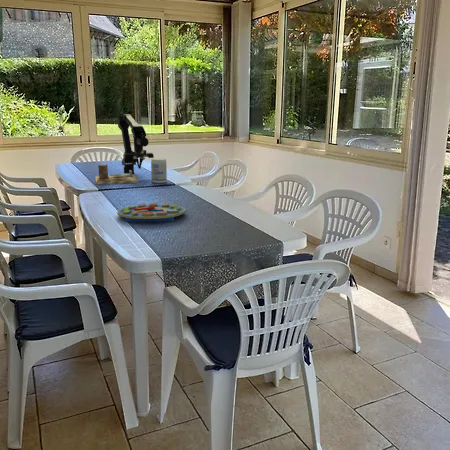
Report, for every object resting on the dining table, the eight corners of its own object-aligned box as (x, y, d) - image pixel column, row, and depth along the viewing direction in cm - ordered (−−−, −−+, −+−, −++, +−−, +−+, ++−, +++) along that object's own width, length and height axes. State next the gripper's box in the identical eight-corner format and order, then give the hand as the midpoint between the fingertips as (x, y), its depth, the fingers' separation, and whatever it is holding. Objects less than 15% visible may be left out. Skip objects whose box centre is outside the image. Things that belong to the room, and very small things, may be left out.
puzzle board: (135, 176, 299) (135, 172, 298) (138, 182, 279) (138, 177, 278) (95, 178, 292) (95, 173, 291) (95, 184, 272) (95, 179, 271)
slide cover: (131, 174, 297) (131, 169, 296) (132, 176, 290) (132, 171, 289) (121, 175, 295) (120, 170, 294) (121, 176, 288) (121, 171, 287)
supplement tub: (152, 183, 276) (151, 160, 272) (150, 181, 284) (149, 158, 280) (168, 182, 279) (167, 159, 274) (165, 180, 287) (164, 157, 283)
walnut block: (108, 179, 280) (107, 164, 278) (106, 180, 276) (105, 165, 273) (101, 179, 280) (100, 164, 277) (99, 180, 276) (98, 165, 273)
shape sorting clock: (187, 208, 217) (186, 196, 215) (183, 225, 188) (183, 212, 186) (124, 208, 216) (123, 196, 214) (111, 226, 187) (110, 212, 185)
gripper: (124, 146, 279) (126, 171, 284) (154, 146, 284) (155, 170, 289) (123, 144, 290) (124, 168, 294) (152, 144, 295) (153, 167, 299)
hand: (139, 168), depth 294 cm, fingers closed
